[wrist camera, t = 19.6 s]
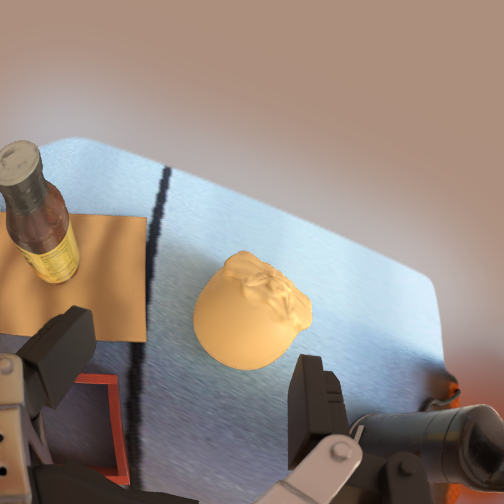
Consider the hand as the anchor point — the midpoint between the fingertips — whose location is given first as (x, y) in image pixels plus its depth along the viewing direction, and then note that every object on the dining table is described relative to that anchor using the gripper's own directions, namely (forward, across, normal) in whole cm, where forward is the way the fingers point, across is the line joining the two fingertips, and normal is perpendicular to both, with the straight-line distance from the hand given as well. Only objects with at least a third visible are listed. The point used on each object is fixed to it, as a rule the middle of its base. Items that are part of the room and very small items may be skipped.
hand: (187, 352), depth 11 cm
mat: (+20, +21, +10) cm, 30 cm away
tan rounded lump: (+24, -1, +15) cm, 28 cm away
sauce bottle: (+20, +21, +9) cm, 30 cm away
